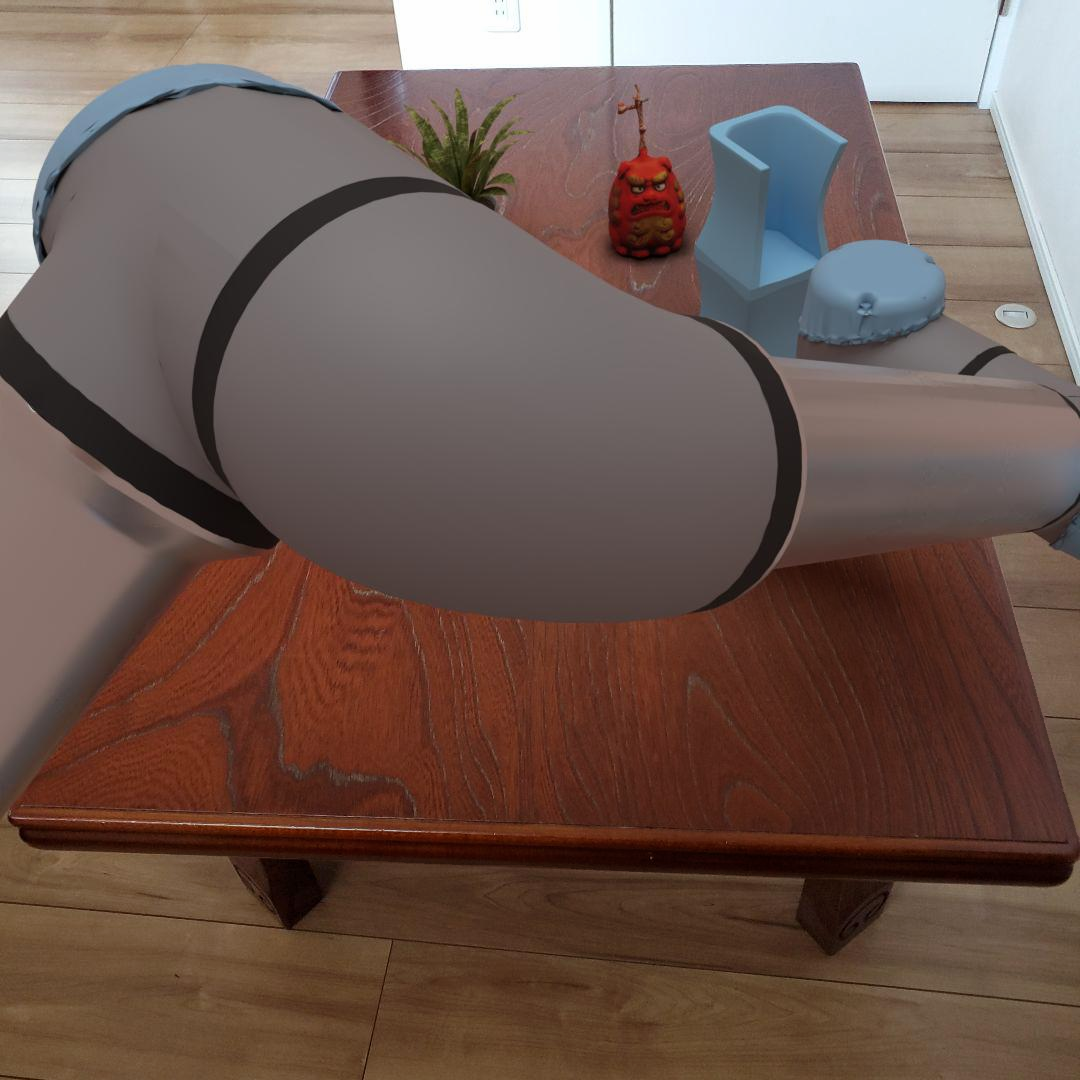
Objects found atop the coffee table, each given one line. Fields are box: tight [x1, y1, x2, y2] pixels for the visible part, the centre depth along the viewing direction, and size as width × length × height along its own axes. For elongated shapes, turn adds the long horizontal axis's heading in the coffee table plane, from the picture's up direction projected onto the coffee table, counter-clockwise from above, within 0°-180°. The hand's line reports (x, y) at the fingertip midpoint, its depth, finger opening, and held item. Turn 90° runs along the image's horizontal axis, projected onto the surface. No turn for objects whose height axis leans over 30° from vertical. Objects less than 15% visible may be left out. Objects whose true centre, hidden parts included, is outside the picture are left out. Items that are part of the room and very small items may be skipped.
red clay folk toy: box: [607, 83, 687, 259], centre depth 106 cm, size 8×7×15 cm
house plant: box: [385, 86, 536, 214], centre depth 105 cm, size 14×14×16 cm
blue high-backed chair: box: [693, 105, 849, 358], centre depth 91 cm, size 8×8×20 cm
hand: (438, 353), depth 84 cm, fingers open, 13 cm apart
